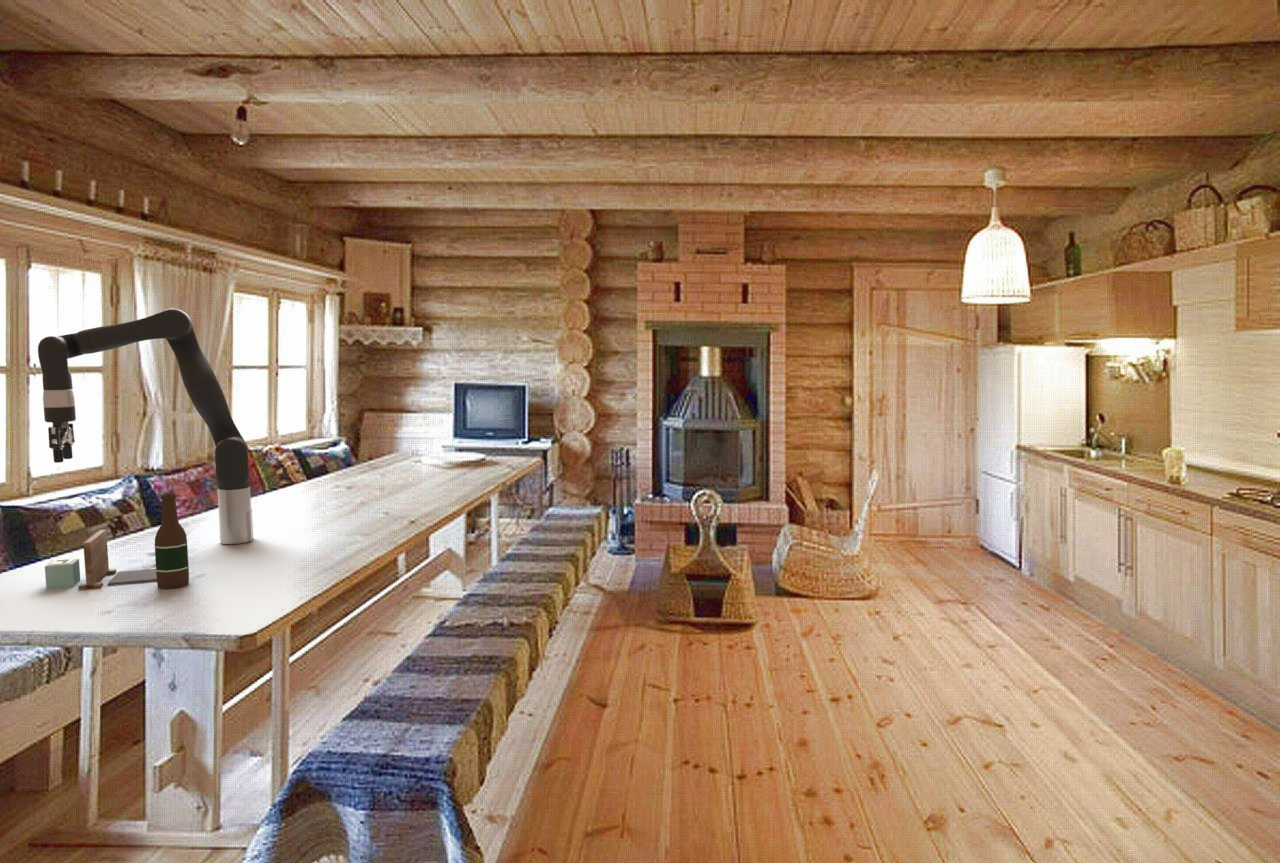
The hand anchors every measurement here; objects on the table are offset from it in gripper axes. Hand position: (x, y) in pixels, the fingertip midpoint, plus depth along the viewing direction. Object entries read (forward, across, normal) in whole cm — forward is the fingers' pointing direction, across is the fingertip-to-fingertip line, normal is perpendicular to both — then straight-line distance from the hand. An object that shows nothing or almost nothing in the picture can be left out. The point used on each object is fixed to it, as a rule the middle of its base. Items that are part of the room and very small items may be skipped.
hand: (63, 460), depth 245 cm
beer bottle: (+29, -46, -35) cm, 64 cm away
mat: (+28, -34, -25) cm, 51 cm away
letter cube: (+29, -35, -8) cm, 46 cm away
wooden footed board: (+28, -34, -15) cm, 47 cm away
